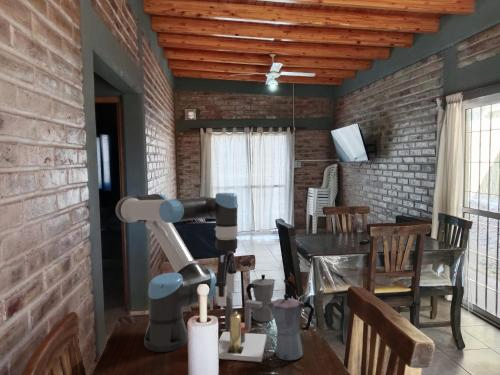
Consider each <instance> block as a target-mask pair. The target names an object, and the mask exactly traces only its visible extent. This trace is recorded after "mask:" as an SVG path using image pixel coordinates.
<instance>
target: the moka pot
mask: <svg viewBox="0 0 500 375" xmlns="http://www.w3.org/2000/svg"><path fill="white" fill-rule="evenodd" d="M267 305H269V307H270V309H271V311H272V313H273V315H274V322H275V326H276V332H277V333H276V343H275V344H276V345H275V354H276V357H277V358H278V359H280V360H283V361H296V360H298V359H300V358H302V357H303V356H304V353H303V352H304V351H303V346H302V342H301V335H300V332H299V331H300V329H301V330H302V331H308V330H309V329H310V326H311V322H312V319H313V316H314V313H315V308H314V306H312V304H311V303H310V302H309V301H308V300H307V301H299V300H298V299H295V298H290V297H289V294H286V293H285V294H283V298H278V299H276V300H271V301H270V302H269V303H268V304H267ZM306 308H309V313H308V316H307V322H306V324H305V326H301V328H300V325H301V312H302V311H301V310H302V309H306Z"/></svg>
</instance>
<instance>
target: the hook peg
mask: <svg viewBox="0 0 500 375" xmlns="http://www.w3.org/2000/svg"><path fill="white" fill-rule="evenodd" d="M241 319H242V318H241V314H240V313H239V312H238V310H235V311H234V313H233V314H231V315H230V351H229V353H235V354H241V353H242V351H241V323H242V321H241Z"/></svg>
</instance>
